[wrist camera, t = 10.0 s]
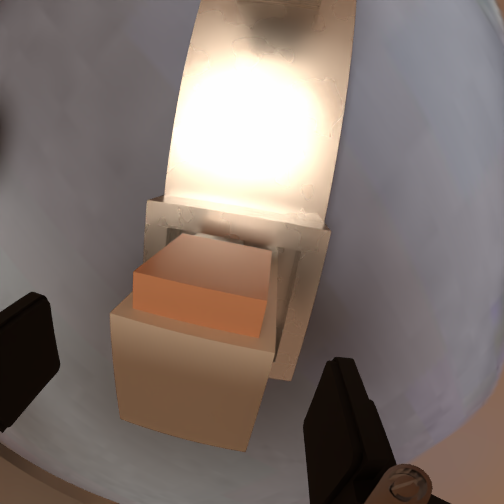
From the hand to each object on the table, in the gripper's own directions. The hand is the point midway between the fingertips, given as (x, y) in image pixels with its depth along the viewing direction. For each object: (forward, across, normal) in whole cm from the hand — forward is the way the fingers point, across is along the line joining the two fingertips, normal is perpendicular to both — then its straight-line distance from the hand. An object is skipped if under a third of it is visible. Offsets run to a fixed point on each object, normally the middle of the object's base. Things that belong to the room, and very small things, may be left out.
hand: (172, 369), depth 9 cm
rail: (+8, -1, -9) cm, 12 cm away
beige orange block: (+6, -1, 0) cm, 7 cm away
